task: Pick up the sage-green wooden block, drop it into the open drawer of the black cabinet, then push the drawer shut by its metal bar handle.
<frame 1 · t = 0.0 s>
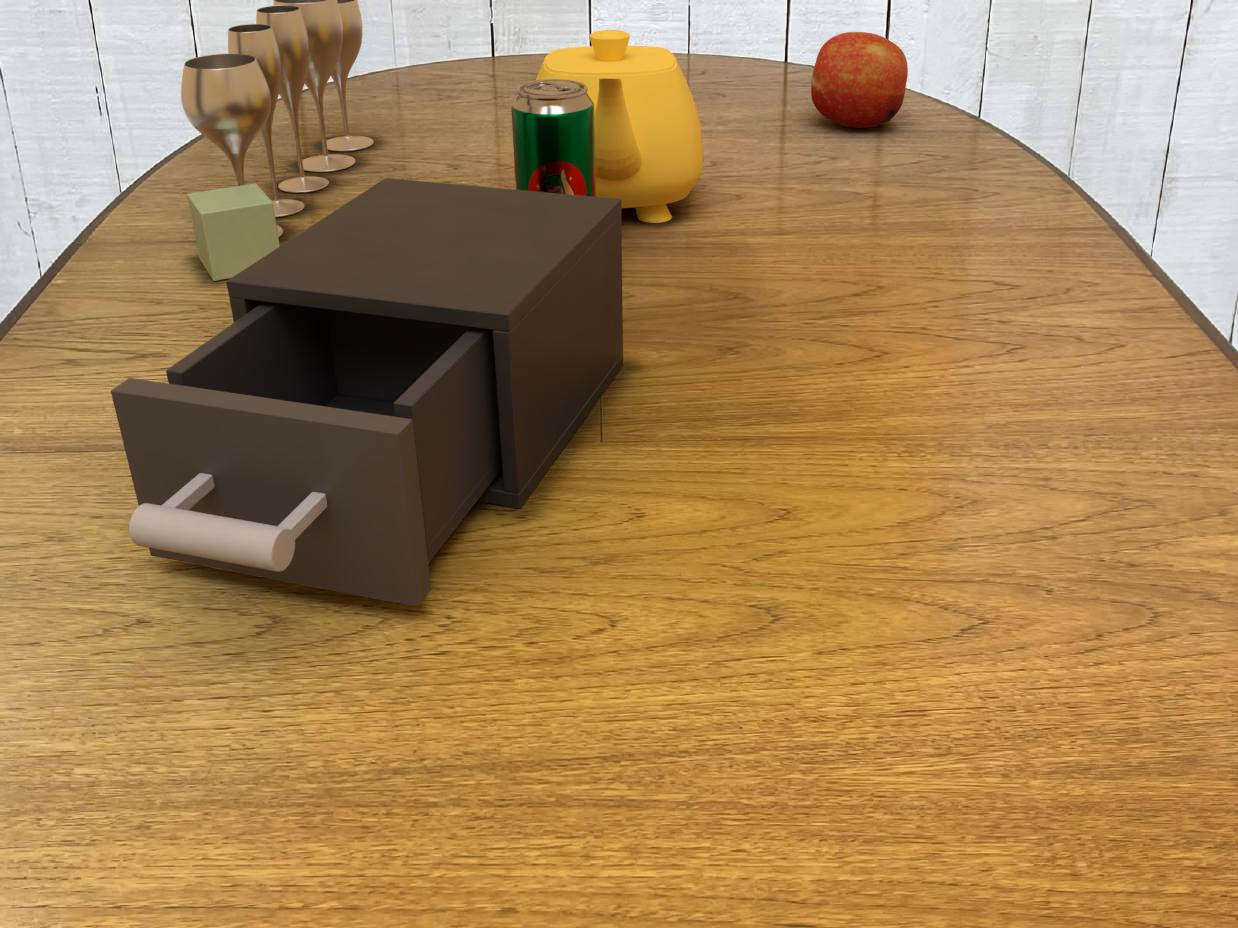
soda can: (559, 276, 82), on the table
block: (241, 264, 84), on the table
teapot: (612, 210, 93), on the table
apple: (857, 128, 112), on the table
drawer: (329, 438, 53), point 5 cm above the table, slide at 8.0 cm
cabinet: (454, 412, 65), on the table
goblet set: (303, 188, 99), on the table
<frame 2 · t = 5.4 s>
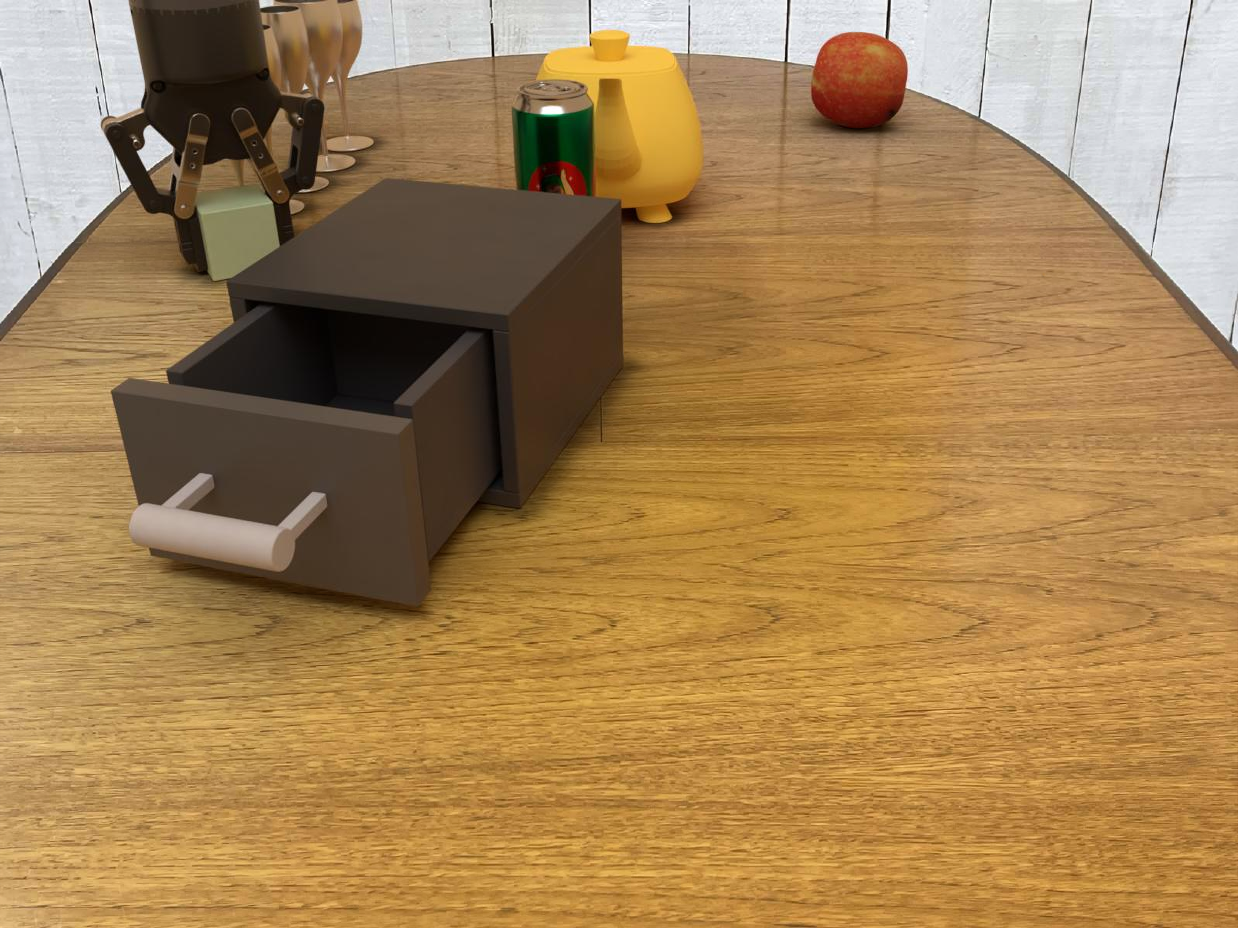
hand: (239, 259, 84), 0 cm above the table, tool pointing down, fingers closed on block, 4 cm apart
block: (241, 264, 84), on the table, touching gripper
everything else where it was.
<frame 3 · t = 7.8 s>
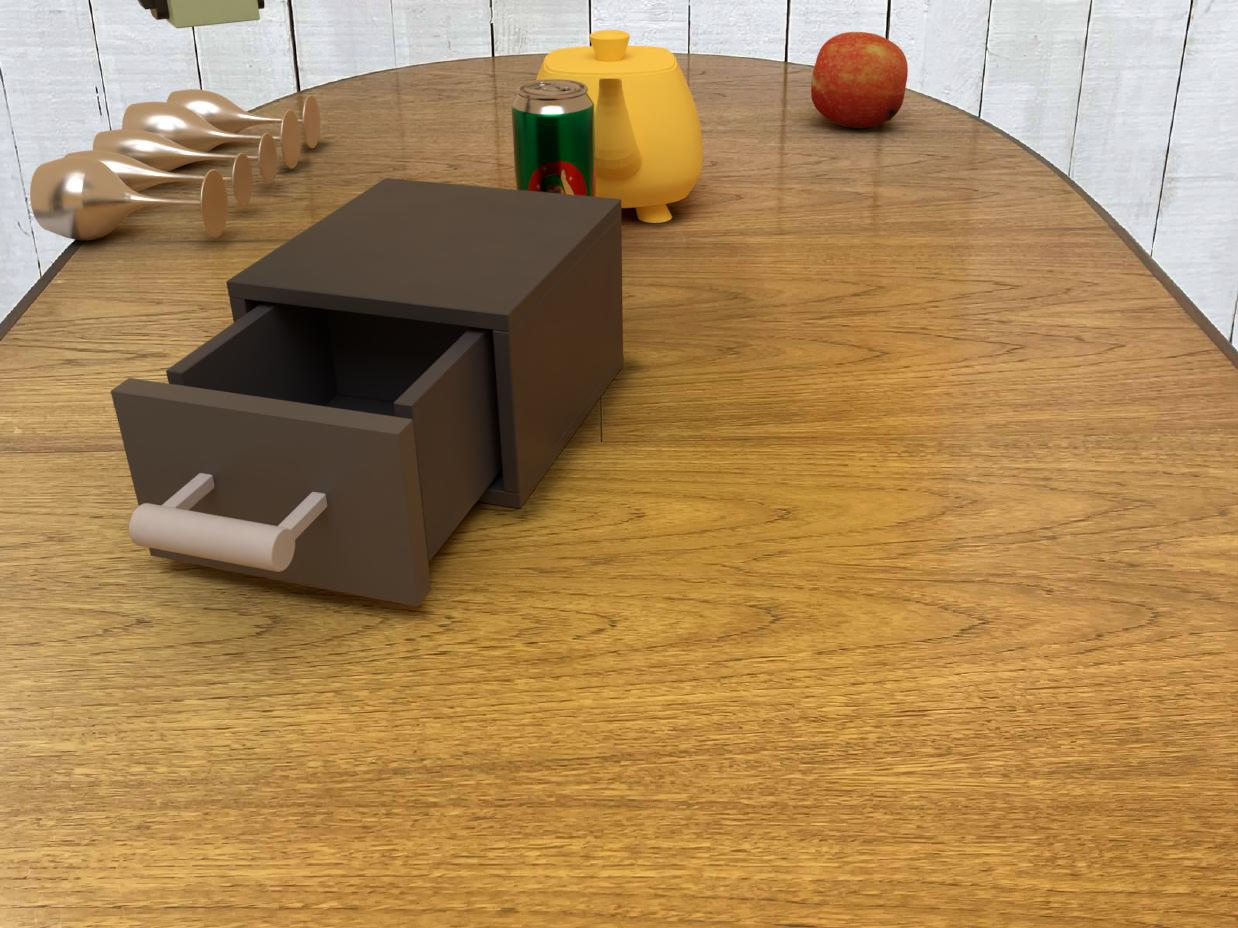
hand: (207, 10, 70), 17 cm above the table, tool pointing down, fingers closed on block, 4 cm apart
block: (209, 17, 71), point 17 cm above the table, touching gripper
goblet set: (270, 159, 97), point 2 cm above the table
everything else where it was.
when the fingers open (8 cm above the table, at t = 12.4 s): block drops 6 cm, resting on drawer.
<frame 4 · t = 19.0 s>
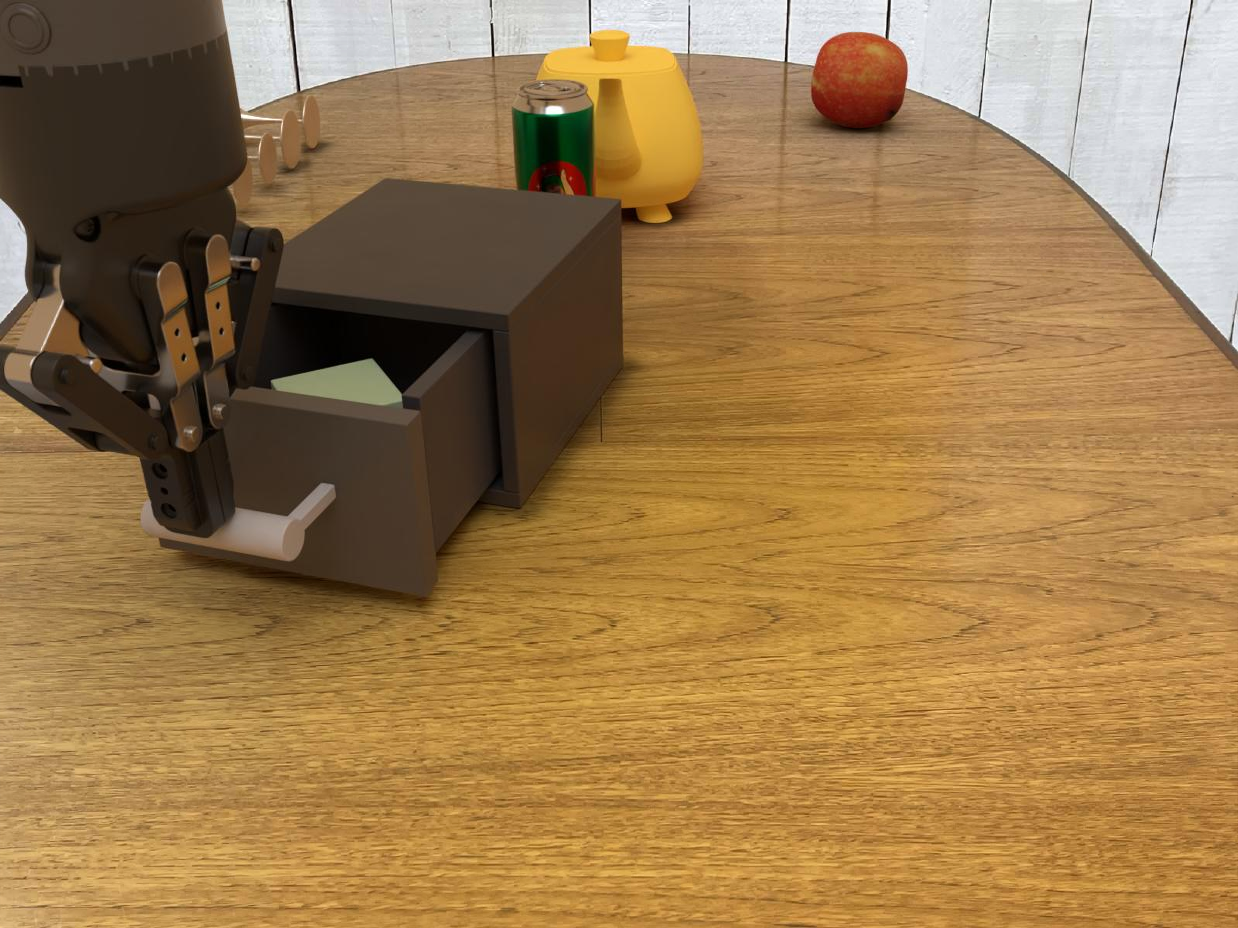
hand: (199, 524, 45), 6 cm above the table, tool pointing down, fingers closed
block: (350, 481, 56), point 2 cm above the table, touching drawer
drawer: (337, 431, 54), point 5 cm above the table, slide at 7.3 cm, touching block, gripper
everything else where it was.
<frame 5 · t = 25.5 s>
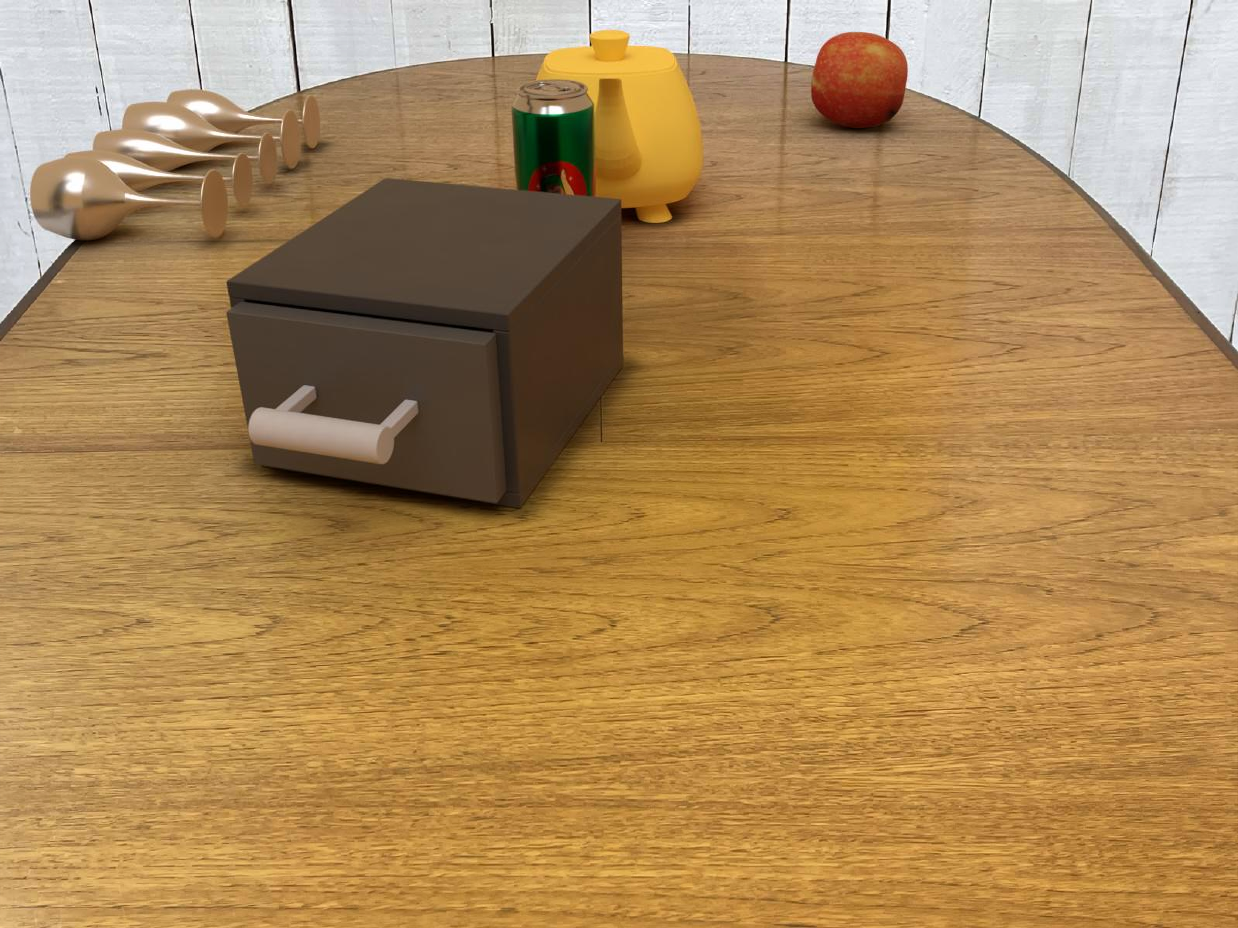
block: (422, 407, 62), point 2 cm above the table, touching drawer
drawer: (412, 360, 60), point 5 cm above the table, slide at 0.0 cm, touching block
everything else where it was.
at the end: block inside the target area in the cabinet (3.4 cm from its centre), point 2.0 cm above the cabinet's base; drawer slide at 0.0 cm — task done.
